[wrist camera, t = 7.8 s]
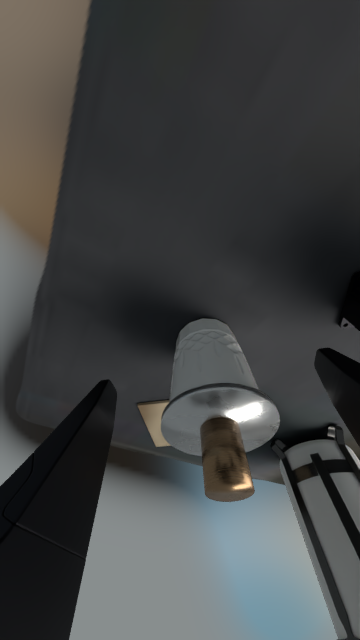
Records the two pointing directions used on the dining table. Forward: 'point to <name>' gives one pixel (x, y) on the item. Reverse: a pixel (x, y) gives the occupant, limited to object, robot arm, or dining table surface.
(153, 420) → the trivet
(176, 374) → the white cup
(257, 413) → the lid
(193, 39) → the dining table surface
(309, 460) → the coffee press
